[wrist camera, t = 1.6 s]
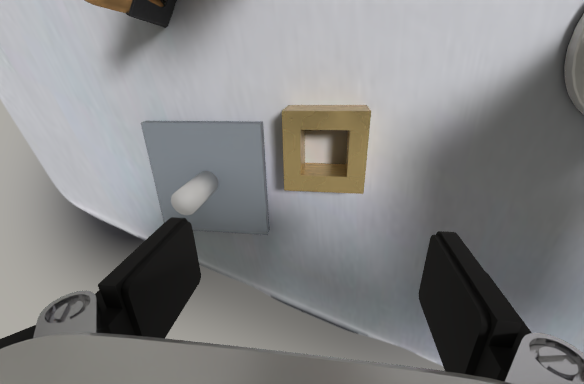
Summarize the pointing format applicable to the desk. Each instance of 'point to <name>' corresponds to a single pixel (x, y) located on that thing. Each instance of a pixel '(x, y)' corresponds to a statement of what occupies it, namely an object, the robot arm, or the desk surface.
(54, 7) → the desk surface
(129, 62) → the desk surface
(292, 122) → the collar
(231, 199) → the post plate
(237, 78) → the desk surface
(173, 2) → the ammunition clip
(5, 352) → the robot arm
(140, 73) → the desk surface
